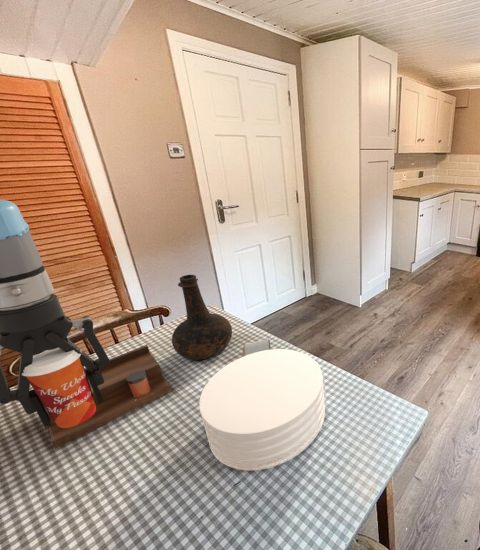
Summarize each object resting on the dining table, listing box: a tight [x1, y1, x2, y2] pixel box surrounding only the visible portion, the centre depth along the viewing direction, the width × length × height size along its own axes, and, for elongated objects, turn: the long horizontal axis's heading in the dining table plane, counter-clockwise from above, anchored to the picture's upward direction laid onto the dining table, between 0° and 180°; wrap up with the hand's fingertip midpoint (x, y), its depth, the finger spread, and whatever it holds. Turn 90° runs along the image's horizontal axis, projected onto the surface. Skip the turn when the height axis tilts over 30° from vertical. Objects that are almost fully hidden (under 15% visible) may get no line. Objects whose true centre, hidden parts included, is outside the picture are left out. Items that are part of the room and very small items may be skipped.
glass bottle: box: [171, 274, 233, 361], centre depth 99 cm, size 18×18×28 cm
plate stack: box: [198, 348, 326, 472], centre depth 75 cm, size 28×28×12 cm
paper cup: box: [22, 346, 96, 428], centre depth 55 cm, size 8×8×14 cm
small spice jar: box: [126, 371, 151, 397], centre depth 81 cm, size 4×4×5 cm
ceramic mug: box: [242, 338, 272, 357], centre depth 95 cm, size 11×8×8 cm
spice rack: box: [44, 344, 173, 449], centre depth 81 cm, size 16×24×9 cm, turn 138°
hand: (74, 409), depth 57 cm, fingers closed on paper cup, 7 cm apart
